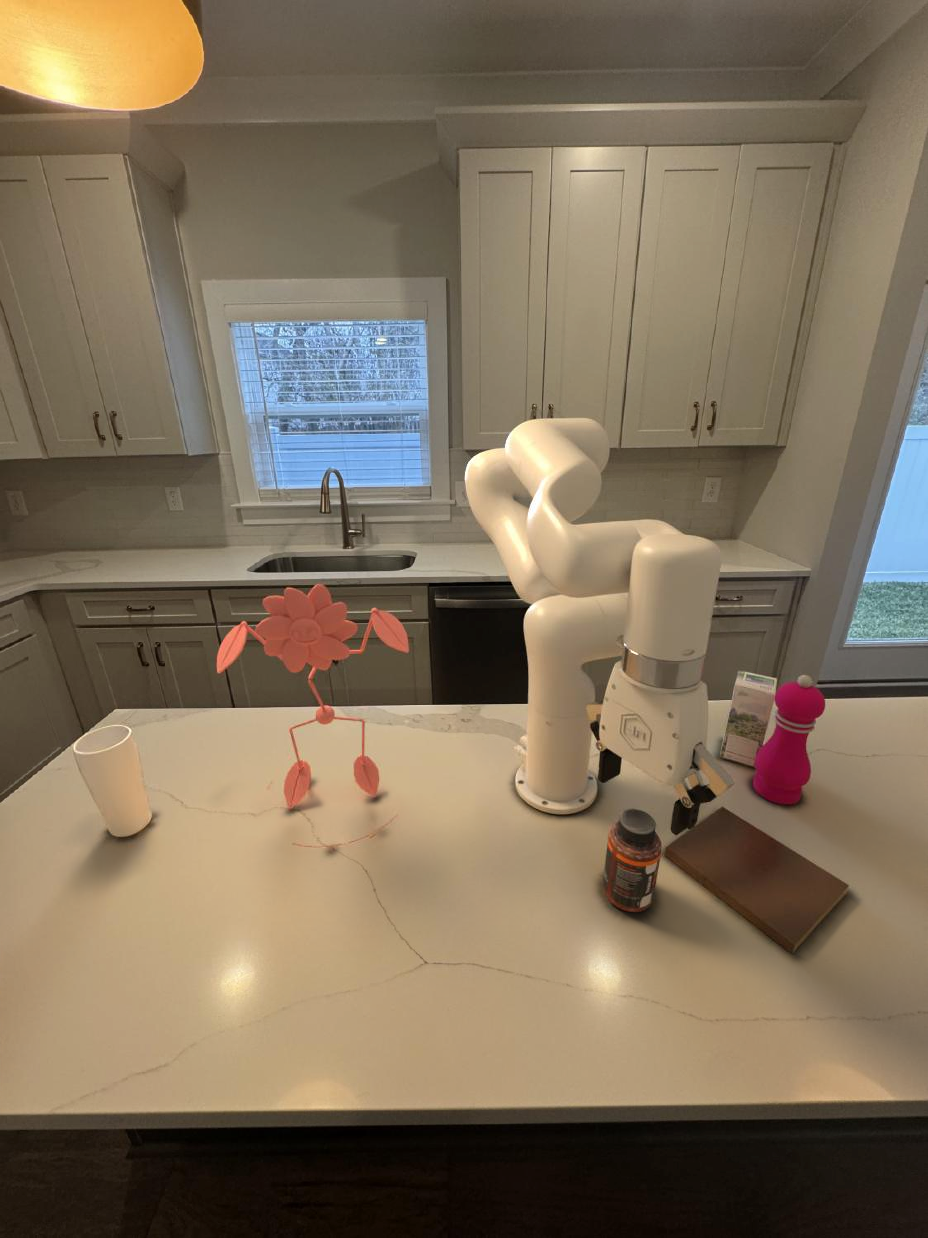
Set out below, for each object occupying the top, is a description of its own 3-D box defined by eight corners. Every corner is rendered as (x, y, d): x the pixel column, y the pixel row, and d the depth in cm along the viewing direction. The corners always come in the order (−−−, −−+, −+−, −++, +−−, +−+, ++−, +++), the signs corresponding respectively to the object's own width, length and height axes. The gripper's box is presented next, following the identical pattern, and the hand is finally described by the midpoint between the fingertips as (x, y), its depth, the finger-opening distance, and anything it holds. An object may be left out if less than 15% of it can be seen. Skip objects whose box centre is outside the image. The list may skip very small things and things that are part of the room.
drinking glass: (168, 816, 75) (142, 731, 69) (123, 849, 69) (91, 759, 64) (138, 803, 78) (111, 719, 72) (93, 834, 72) (59, 746, 66)
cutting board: (664, 855, 67) (665, 846, 66) (720, 814, 74) (722, 806, 73) (791, 954, 55) (795, 944, 54) (845, 894, 61) (849, 885, 61)
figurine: (255, 784, 81) (210, 575, 68) (416, 770, 84) (403, 565, 71) (225, 862, 67) (161, 617, 54) (420, 842, 70) (405, 603, 57)
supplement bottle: (660, 915, 59) (673, 841, 55) (609, 915, 59) (618, 841, 55) (644, 872, 65) (655, 802, 60) (597, 872, 65) (605, 802, 60)
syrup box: (760, 751, 87) (778, 676, 81) (757, 770, 82) (776, 692, 77) (723, 740, 90) (738, 668, 84) (718, 758, 85) (734, 683, 80)
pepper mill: (811, 810, 74) (848, 691, 66) (757, 804, 75) (787, 686, 68) (792, 778, 80) (823, 665, 73) (743, 772, 82) (768, 662, 74)
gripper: (570, 642, 55) (562, 772, 61) (723, 712, 41) (693, 870, 47) (617, 626, 58) (605, 751, 65) (771, 686, 45) (738, 835, 51)
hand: (642, 801), depth 56 cm, fingers open, 9 cm apart
